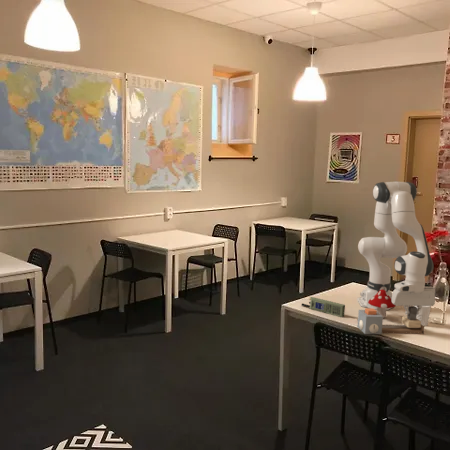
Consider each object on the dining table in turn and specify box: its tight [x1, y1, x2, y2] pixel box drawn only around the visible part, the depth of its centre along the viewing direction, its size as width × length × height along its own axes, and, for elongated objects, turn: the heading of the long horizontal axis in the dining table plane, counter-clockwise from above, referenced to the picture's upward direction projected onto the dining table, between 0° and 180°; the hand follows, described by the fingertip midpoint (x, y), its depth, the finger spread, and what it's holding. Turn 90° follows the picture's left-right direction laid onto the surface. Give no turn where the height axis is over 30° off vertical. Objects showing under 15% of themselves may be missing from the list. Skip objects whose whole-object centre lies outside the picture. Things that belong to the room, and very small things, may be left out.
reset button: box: [364, 307, 377, 315], centre depth 232 cm, size 4×4×3 cm
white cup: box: [415, 306, 432, 327], centre depth 245 cm, size 8×8×10 cm
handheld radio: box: [301, 296, 346, 318], centre depth 259 cm, size 7×3×25 cm
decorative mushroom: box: [368, 289, 396, 319], centre depth 252 cm, size 14×14×15 cm
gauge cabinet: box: [356, 309, 384, 335], centre depth 232 cm, size 10×8×8 cm
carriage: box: [401, 306, 421, 328], centre depth 234 cm, size 7×6×9 cm
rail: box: [382, 324, 425, 335], centre depth 234 cm, size 8×21×4 cm, turn 95°
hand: (412, 314), depth 234 cm, fingers closed on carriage, 3 cm apart
